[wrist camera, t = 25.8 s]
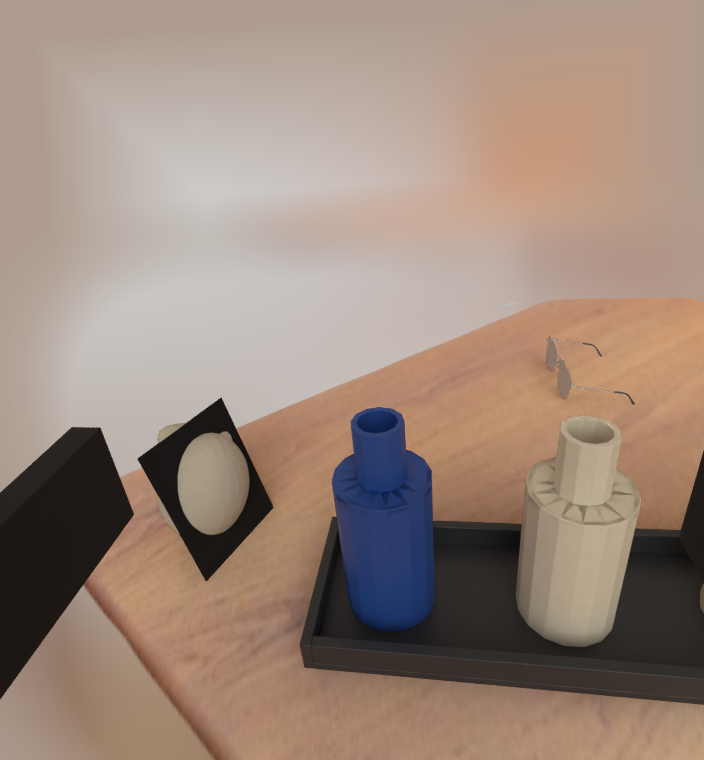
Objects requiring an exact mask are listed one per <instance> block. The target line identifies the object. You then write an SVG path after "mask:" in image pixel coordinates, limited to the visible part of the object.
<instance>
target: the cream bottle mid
mask: <svg viewBox="0 0 704 760" xmlns="http://www.w3.org/2000/svg"><path fill="white" fill-rule="evenodd" d="M620 445H621V431H620V430H619V429H618V428H617V427H616V426H615V425H614V424H613V423H612V422H609V421H607V420H604V419H602V418H598V417H593V416H585V415H582V416H575V417H570V418H568V419H566V420H565V421H563V422H562V423H561V426H560V434H559V442H558V451H557V457H554V458H550V459H547V460H543V461H541V462H540V463H538V464H537V465H535V466H534V467H533V468H531V469H530V471H529V474H528V476H527V478H526V481H525V493H524V504H523V516H522V527H521V539H520V550H519V562H518V573H517V585H516V601H517V607H518V611H519V612H520V614H521V615H522V617H523V618H524V620H525V621H526V623H527V625H528V626H530V627H531V628H532V629H533V630H535V631H536V632H537V633H538V634H540V635H541V636H542V637H543V638H545V639H548V640H550V641H553V642H555V643H558V644H560V645H563V646H574V647H586V646H589V645H592V644H595V643H598V642H601V641H602V640H603V639H604V638H605V637H606V636H607V635H608V634H609V633H610V631H611V630H612V627H613V623H614V618H615V614H616V610H617V605H618V601H619V597H620V592H621V588H622V584H623V579H624V575H625V570H626V566H627V562H628V557H629V553H630V549H631V544H632V540H633V535H634V531H635V527H636V522H637V518H638V514H639V509H640V502H641V495H640V493H639V491H638V489H637V487H636V485H635V483H634V482H633V481H632V480H631V479H629V478H628V477H627V476H626V475H625V474H624V473H622V472H621V471H620V470H618V469H616V466H617V460H618V455H619V450H620Z"/></svg>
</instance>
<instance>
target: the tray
mask: <svg viewBox="0 0 704 760" xmlns="http://www.w3.org/2000/svg"><path fill="white" fill-rule="evenodd" d="M521 527H522V524H507V523H482V522H457V521H433V552H434V603H433V606H432V609H431V611H430V612H429V614H428V615H427V616H426V618H425V619H424V620H423V621H422V622H420V623H419V624H418V625H416V626H414V627H412V628H410V629H407V630H404V631H399V632H384V631H379V630H376V629H373V628H371V627H369V626H367V625H365V624H364V623H363V622H361V621H360V620H359V619H358V618H357V617H356V615H355V614H354V612H353V611H352V608H351V606H350V602H349V597H348V593H347V586H346V579H345V572H344V565H343V558H342V551H341V544H340V537H339V529H338V522H337V517H332V521H331V525H330V529H329V533H328V536H327V540H326V544H325V548H324V552H323V556H322V560H321V564H320V568H319V572H318V576H317V579H316V583H315V587H314V591H313V595H312V599H311V603H310V607H309V611H308V615H307V619H306V622H305V626H304V630H303V634H302V638H301V642H300V648H301V652H302V657H303V661H304V667H306V668H317V669H327V670H338V671H349V672H360V673H370V674H381V675H392V676H403V677H413V678H424V679H435V680H446V681H456V682H467V683H478V684H489V685H499V686H510V687H521V688H532V689H543V690H553V691H564V692H575V693H586V694H596V695H607V696H618V697H629V698H639V699H650V700H661V701H672V702H682V703H693V704H704V613H703V611H702V609H701V607H700V592H701V589H702V586H703V582H702V580H701V578H700V576H699V574H698V573H697V571H696V569H695V567H694V565H693V563H692V561H691V559H690V557H689V555H688V554H687V552H686V550H685V548H684V546H683V544H682V542H681V540H680V538H679V535H680V532H681V530H658V529H635V531H634V535H633V540H632V544H631V549H630V553H629V557H628V562H627V566H626V570H625V575H624V579H623V584H622V588H621V592H620V597H619V601H618V605H617V610H616V614H615V618H614V623H613V627H612V630H611V631H610V633H609V634H608V635H607V636H606V637H605V638H604V639H603V640H602V641H601V642H598V643H595V644H592V645H589V646H586V647H574V646H563V645H560V644H558V643H555V642H553V641H550V640H548V639H545V638H543V637H542V636H541V635H540V634H538V633H537V632H536V631H535V630H533V629H532V628H531V627H530V626H528V625H527V623H526V621H525V620H524V618H523V617H522V615H521V614H520V612H519V611H518V607H517V601H516V585H517V573H518V562H519V550H520V539H521Z"/></svg>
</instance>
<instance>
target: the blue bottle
mask: <svg viewBox="0 0 704 760" xmlns="http://www.w3.org/2000/svg"><path fill="white" fill-rule="evenodd" d="M351 431H352V440H353V449H354V454H352V455H350V456H349V457H347V458H345V459H344V460H343V461H342V462H341V463H340V464H339V465H338V467H337V468H336V469H335V471H334V475H333V479H332V487H333V494H334V501H335V508H336V515H337V522H338V529H339V537H340V544H341V551H342V558H343V565H344V572H345V579H346V586H347V593H348V597H349V602H350V606H351V608H352V611H353V612H354V614H355V615H356V617H357V618H358V619H359V620H360V621H361V622H363V623H364V624H365V625H367V626H369V627H371V628H373V629H376V630H379V631H384V632H399V631H404V630H407V629H410V628H412V627H414V626H416V625H418V624H419V623H420V622H422V621H423V620H424V619H425V618H426V616H427V615H428V614H429V612H430V611H431V609H432V606H433V603H434V552H433V509H432V471H431V469H430V468H429V466H428V464H427V463H426V461H425V460H424V459H423V458H421V457H420V456H418V455H417V454H415V453H413V452H412V451H409V450H406V443H405V424H404V419H403V417H402V414H400V413H399V412H397V411H395V410H393V409H390V408H382V407H377V408H370V409H366V410H363V411H361V412H359V413H357V414H356V415H355V416H354V418H353V419H352V420H351Z"/></svg>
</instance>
